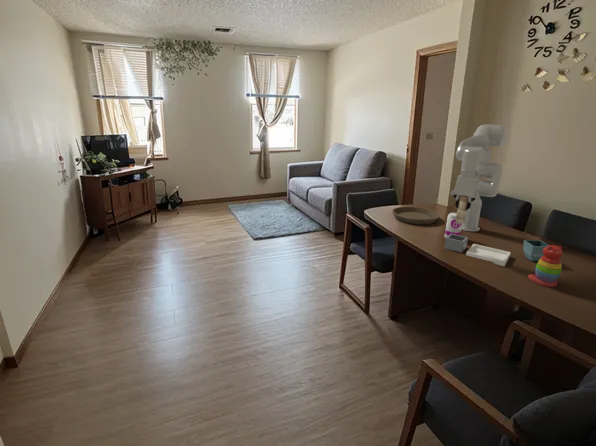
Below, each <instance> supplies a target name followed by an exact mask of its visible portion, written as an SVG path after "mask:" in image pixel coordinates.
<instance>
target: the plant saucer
mask: <svg viewBox="0 0 596 446" xmlns="http://www.w3.org/2000/svg"><path fill="white" fill-rule="evenodd" d="M391 212H392V215H393V216H394V217H395V219H396V220H398V221H400V222H402V223H406V224H412V225H429V224H431V225H432V224H433V223H435V222H436V221H438V220H439V219H440V216H441V215H440V213H439V212H438V211H435V210H433V209H430V208H425V207H420V206H398V207H394V208H393V209H391Z"/></svg>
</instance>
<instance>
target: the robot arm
mask: <svg viewBox="0 0 596 446" xmlns="http://www.w3.org/2000/svg"><path fill="white" fill-rule="evenodd" d="M506 142H507V129H506V127H505V126H503V124H488V123H487V124H481V125H479V126H478V127H477V128H476V130H475V132H474V133H473V136H470V137H468V138H465V139H463V140H462V141H461V142H460V143H459V145H458V147H457V149H456V152H455V158H456V159H457V160H458V161H461V162H462V163H461V167H460V173H459V174H458V176H457V179H456V182H455V186H454V189H452V190H451V191H450V193H449V194H450V195H452V196H453V198H454V199H455V205H454V207H455V209H458V204H459V198H460V195H461V196H467V197H468V202H467V207H466V210H467V212H466V217H465V223H462V228H461V231H466V232H472V233H473V232H475V233H476V232H479V231H480V229H481V228H480V226H478V225H479V220H480V215H481V209H482V204H483V203H482V202H483V201H482V199H481V197H486V198H487V197H489V198H494V197H496V196H497V194H498V192H499V188H500V182H501V179H502V174H503V165H502V164H501V163H500V162H492V161H491V157H492V152H491V149H489V147H494V148H496V147H497V148H500V147H503V146H505V144H506ZM481 178H484V179H481ZM487 179H491V180H487Z"/></svg>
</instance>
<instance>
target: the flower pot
mask: <svg viewBox="0 0 596 446" xmlns="http://www.w3.org/2000/svg"><path fill="white" fill-rule="evenodd" d="M549 245H550V244H548V243H546V242H544V241H542V240H539V239H524V240H523V250H522V251H523V253H524V256H525V258H527V259H528V260H530V261H532V262H533V261H534V262H538V261H539V260H540V258H541V257H542V256H544V254H543V249H544V248H545V247H547V246H549Z"/></svg>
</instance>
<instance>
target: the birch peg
mask: <svg viewBox="0 0 596 446" xmlns="http://www.w3.org/2000/svg"><path fill="white" fill-rule="evenodd" d="M467 202H468V197H467V196H461V195H460V198H459V204H458V208H457V211H456V213H457V216H456V222H458V223H465V217H466V212H467V210H466V207H467Z"/></svg>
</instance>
